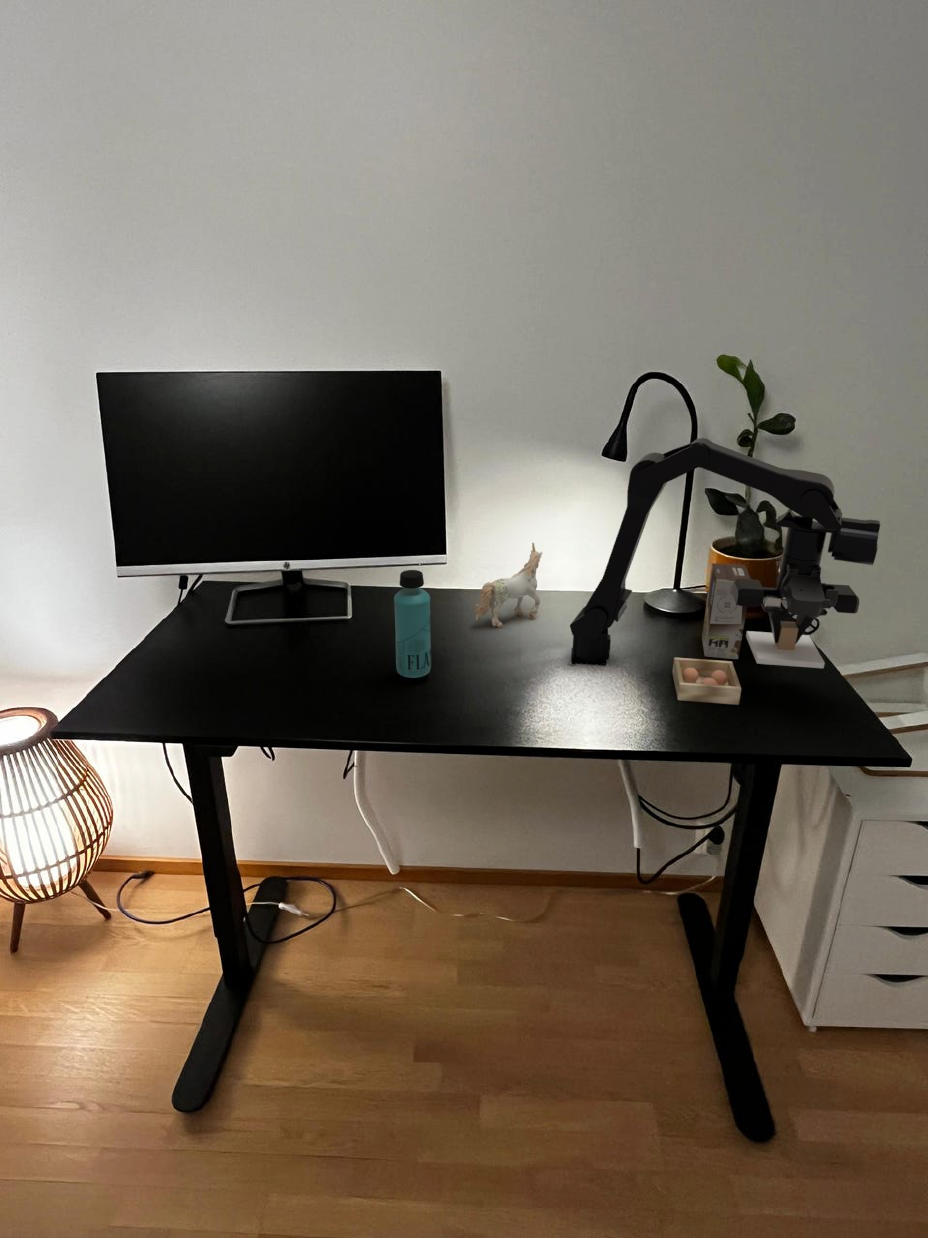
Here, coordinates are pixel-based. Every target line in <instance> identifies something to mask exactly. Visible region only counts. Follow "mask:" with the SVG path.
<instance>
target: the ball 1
mask: <svg viewBox="0 0 928 1238" xmlns="http://www.w3.org/2000/svg"><path fill="white" fill-rule="evenodd" d="M682 677H683V680H684V681H685V682H686V683H695V682H696V681H697V680H698V677H699V675H698V672H697V670H695V669H694V668H687V669H685V670H684V671H683V673H682Z"/></svg>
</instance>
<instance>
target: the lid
mask: <svg viewBox="0 0 928 1238" xmlns="http://www.w3.org/2000/svg"><path fill="white" fill-rule="evenodd" d="M795 622H796V621H783V620H781V624H780V635H779V640H778V643H775V641H774V637H773V632H765V631H752V630H751V631H750V630H747V631H746V634H745V637H746V640H747V642H748V643H747V644H748V645H749V648H750V650H751V652H752V655H753V657H754V659H755V662H756V664H760V665H770V666H771V665H772V666H773V665H774V666H785V667H786V666H788V667H798V668H799V667H801V668H811V669H813V668H814V669H824V668H825V665H826V662H825V660H824V659H823V657H822V656H821V653H820V652H819V650H818V649H817V647H816V645H815V643H814V642H813V640H812V638H811V636H810V635H809V634H803V635H802V636H801V638H800V639H799V641H798V642H797V644H795V643H796V638H797V634H798V627H797V625H796V623H795Z"/></svg>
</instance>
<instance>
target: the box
mask: <svg viewBox="0 0 928 1238" xmlns="http://www.w3.org/2000/svg"><path fill="white" fill-rule="evenodd" d="M687 668H694V669H695V670H697V672H698V675H699V677H698V680H697V681H696V682H695V683H686V682H685V681H684V680H683V677H682V673H683V671H684V670H685V669H687ZM717 670H721V671H724V672H725V673H726V674H727V677H728V680H727V682H726V684H725V685H723V686H722V685H708V684H701V682H702V681H703V680H704V679H706V678H711V675H712V673H713V672H715V671H717ZM672 678H673V682H674V687H675V688H674V689H675V692H676V698H677V701H684V702H698V703H712V704H721V705H722V704H723V705H724V704H725V705H737V706H739V705H740V699H741V695H742V694H741V693H742V687H741V684H740V680H739V677H738V675H737V672H736V670H735V667H734V663H733V661H729V660H717V659H715V660H714V659H701V658H687V657H686V658H684V657H673V666H672Z"/></svg>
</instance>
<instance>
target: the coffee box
mask: <svg viewBox="0 0 928 1238" xmlns="http://www.w3.org/2000/svg"><path fill="white" fill-rule="evenodd" d="M737 579H752V578H751V577H750V573H749V570H748V568H747V566H746V565H745V564H735V563H714V562H713V563H711V569H710V575H709V582H708V587H707V588H708V590H707V591H708V592H707V597H706V604H705V605H706V606H705V612H704V619H703V627H702V633H701V641H702V648H703V654H704V657H710V658H719V659H731V660H739V656H740V651H741V645H742V640H743V634H744V633H743V632H744V627H745V621H746V616H747V609H748V607H746V606H739V605H737V604H736V602H735V600H734V597H733V595H732V588H733V583H734V582H735V581H736V580H737Z"/></svg>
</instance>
